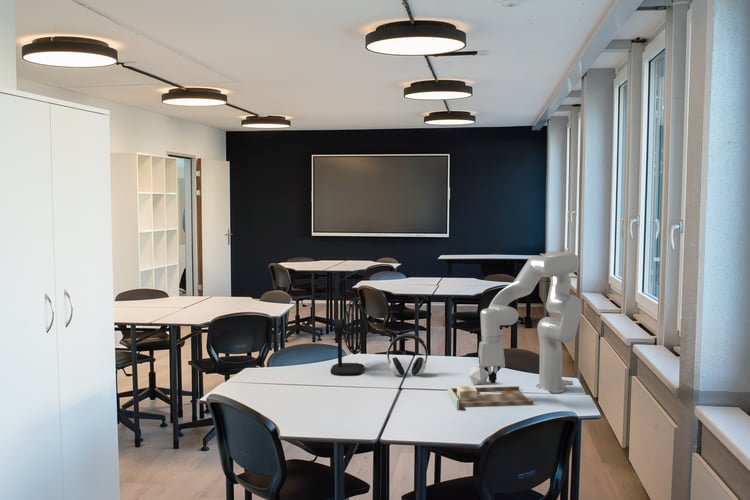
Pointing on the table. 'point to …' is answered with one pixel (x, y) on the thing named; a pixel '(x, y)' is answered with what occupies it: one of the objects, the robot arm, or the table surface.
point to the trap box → (496, 397)
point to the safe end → (453, 397)
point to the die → (478, 376)
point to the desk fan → (340, 329)
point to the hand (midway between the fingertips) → (492, 382)
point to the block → (467, 393)
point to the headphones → (419, 362)
